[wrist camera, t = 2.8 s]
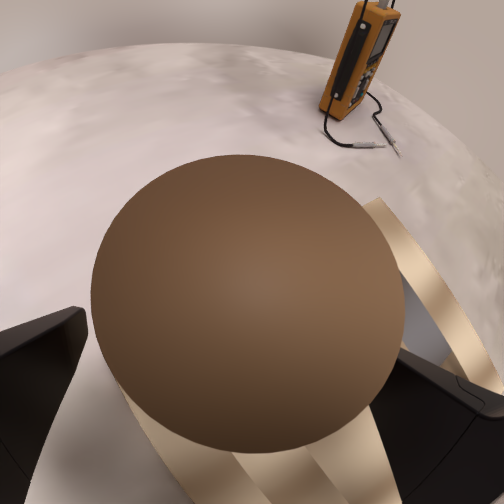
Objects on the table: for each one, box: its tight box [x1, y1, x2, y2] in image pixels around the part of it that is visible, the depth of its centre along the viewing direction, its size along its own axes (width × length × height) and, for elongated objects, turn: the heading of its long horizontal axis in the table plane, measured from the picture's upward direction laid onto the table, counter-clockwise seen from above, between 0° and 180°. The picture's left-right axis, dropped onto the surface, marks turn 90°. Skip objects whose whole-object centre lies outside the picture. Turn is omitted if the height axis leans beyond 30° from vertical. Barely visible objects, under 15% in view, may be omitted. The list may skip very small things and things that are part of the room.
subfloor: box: [114, 197, 504, 504], centre depth 15 cm, size 18×20×2 cm
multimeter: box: [319, 0, 402, 156], centre depth 20 cm, size 15×10×20 cm
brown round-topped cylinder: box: [91, 155, 405, 454], centre depth 9 cm, size 4×4×14 cm
